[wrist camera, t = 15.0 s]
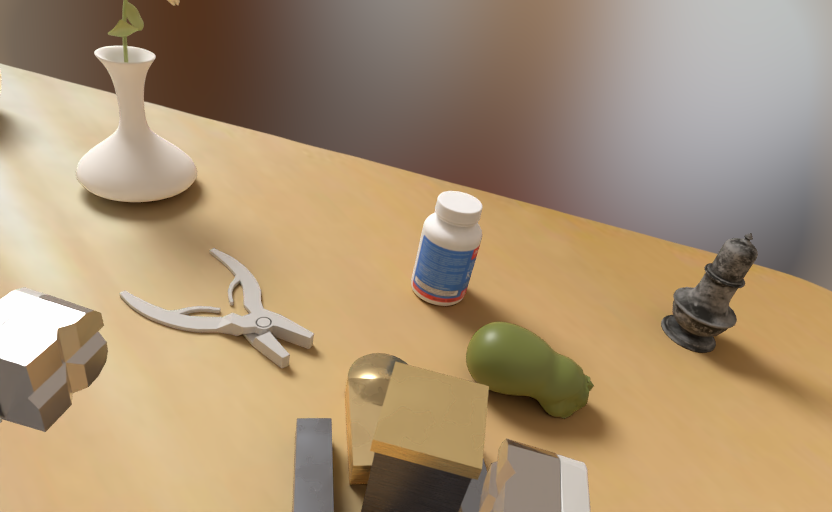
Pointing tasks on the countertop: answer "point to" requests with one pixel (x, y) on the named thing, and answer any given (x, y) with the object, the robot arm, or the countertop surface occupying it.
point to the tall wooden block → (426, 442)
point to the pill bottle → (448, 249)
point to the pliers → (234, 316)
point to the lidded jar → (0, 83)
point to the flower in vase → (133, 133)
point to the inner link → (365, 409)
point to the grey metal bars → (317, 470)
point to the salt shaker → (710, 298)
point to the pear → (526, 368)
